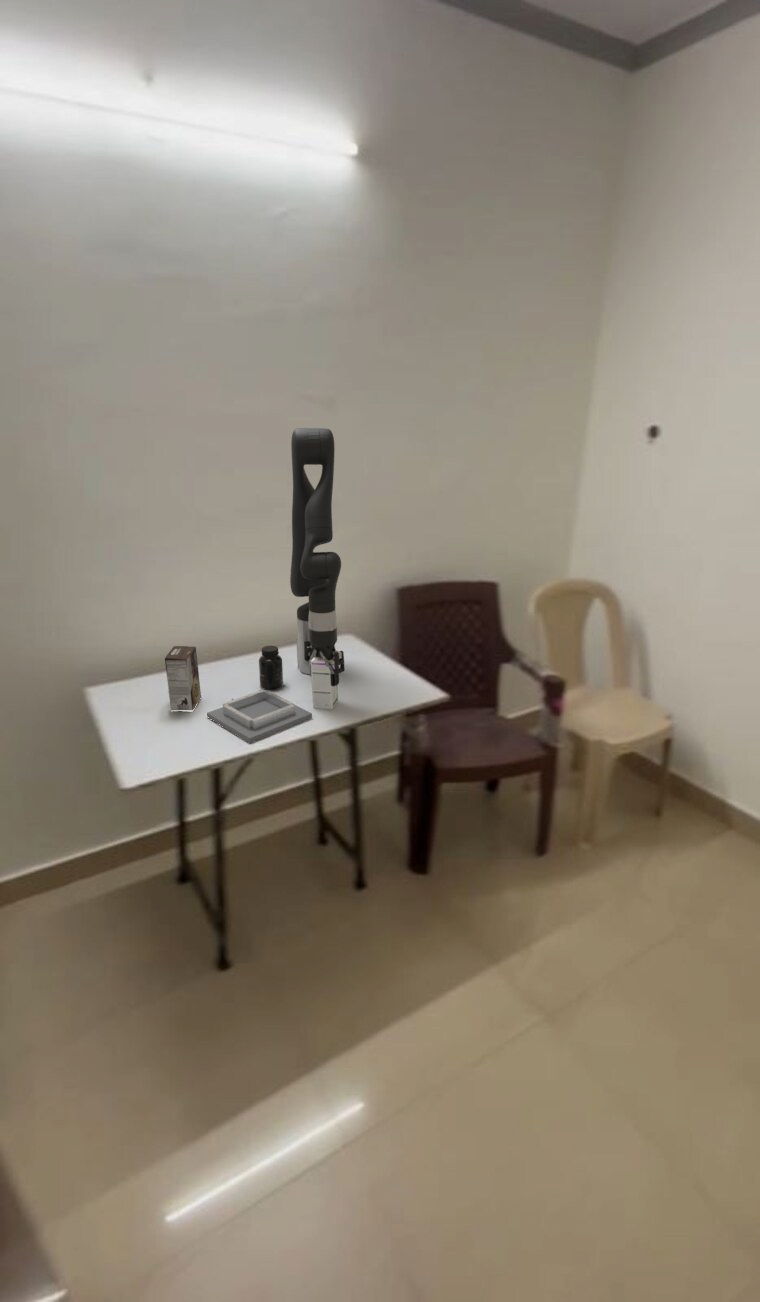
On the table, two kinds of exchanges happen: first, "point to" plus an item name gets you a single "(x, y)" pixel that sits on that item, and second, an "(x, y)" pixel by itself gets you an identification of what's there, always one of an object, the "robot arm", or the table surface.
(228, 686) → the table surface
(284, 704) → the frame
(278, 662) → the supplement bottle
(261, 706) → the plate
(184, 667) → the coffee box
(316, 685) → the syrup box
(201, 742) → the table surface
